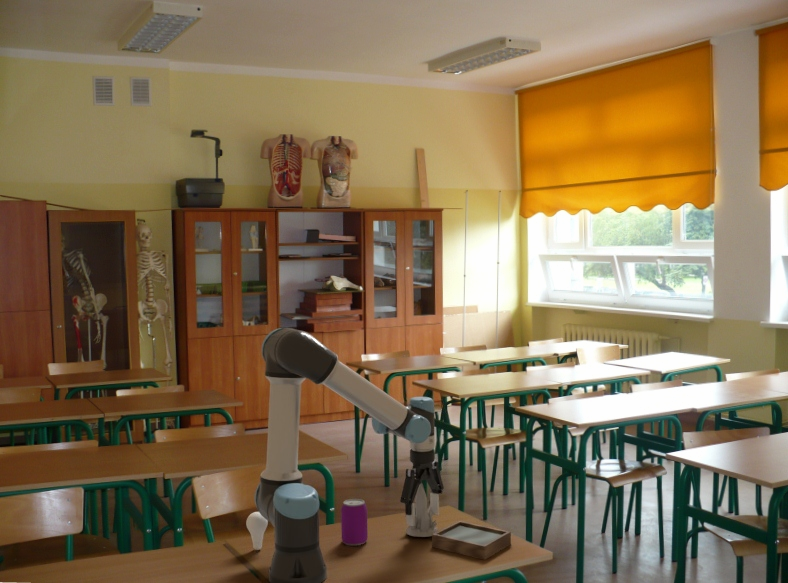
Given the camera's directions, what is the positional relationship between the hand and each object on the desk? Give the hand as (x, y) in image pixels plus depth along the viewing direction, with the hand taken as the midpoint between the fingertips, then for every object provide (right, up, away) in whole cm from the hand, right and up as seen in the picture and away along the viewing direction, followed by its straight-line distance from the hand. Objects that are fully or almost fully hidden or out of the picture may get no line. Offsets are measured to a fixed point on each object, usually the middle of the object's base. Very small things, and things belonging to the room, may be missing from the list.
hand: (422, 519), depth 239 cm
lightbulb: (-48, -6, -10) cm, 50 cm away
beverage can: (-20, -5, -5) cm, 22 cm away
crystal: (0, -4, 0) cm, 4 cm away
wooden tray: (+14, -5, -10) cm, 18 cm away
